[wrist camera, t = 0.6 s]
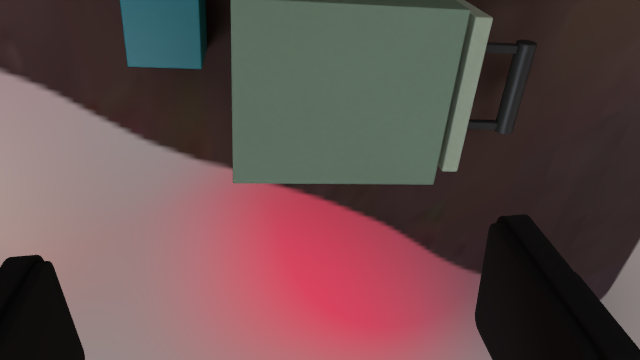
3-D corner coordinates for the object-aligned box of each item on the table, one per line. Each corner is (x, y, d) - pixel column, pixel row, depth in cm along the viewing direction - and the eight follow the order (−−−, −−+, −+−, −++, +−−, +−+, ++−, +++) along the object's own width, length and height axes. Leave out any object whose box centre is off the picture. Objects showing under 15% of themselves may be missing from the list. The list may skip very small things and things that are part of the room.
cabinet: (428, -18, 40) (470, 9, 32) (403, 131, 46) (433, 185, 39) (235, -30, 38) (230, -3, 30) (236, 128, 44) (233, 183, 37)
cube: (133, -24, 38) (118, -10, 33) (204, -20, 38) (198, -6, 34) (140, 45, 40) (127, 66, 36) (207, 48, 41) (201, 69, 36)
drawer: (517, -3, 40) (564, 21, 34) (483, 131, 46) (518, 172, 40) (278, -16, 38) (282, 7, 32) (273, 127, 44) (277, 170, 38)
